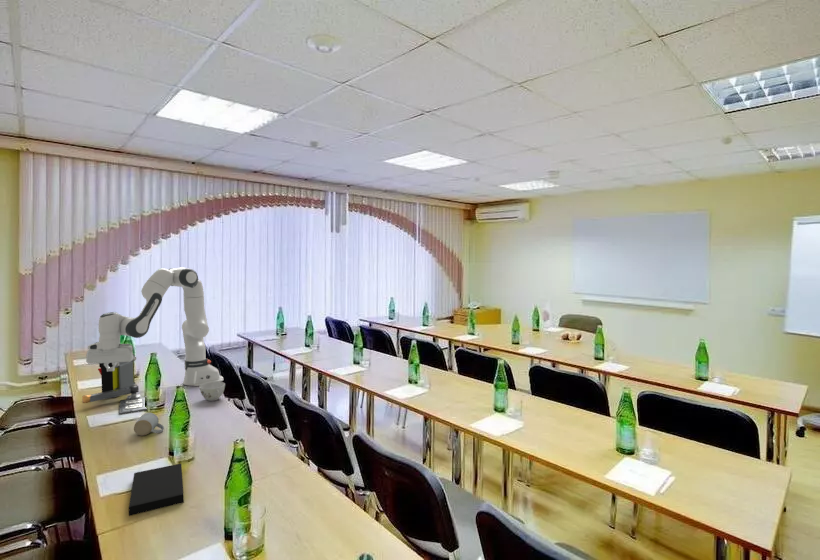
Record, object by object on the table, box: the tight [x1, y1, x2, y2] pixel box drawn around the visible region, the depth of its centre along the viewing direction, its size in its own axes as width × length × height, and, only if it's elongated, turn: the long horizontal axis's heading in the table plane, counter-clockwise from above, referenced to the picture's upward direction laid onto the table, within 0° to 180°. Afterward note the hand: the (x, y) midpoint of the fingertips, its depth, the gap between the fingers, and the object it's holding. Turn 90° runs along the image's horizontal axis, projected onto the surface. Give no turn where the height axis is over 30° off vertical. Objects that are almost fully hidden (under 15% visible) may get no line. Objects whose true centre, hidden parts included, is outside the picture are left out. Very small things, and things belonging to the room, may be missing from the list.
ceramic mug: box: [133, 412, 165, 437], centre depth 185 cm, size 11×8×8 cm
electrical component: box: [97, 354, 138, 399], centre depth 239 cm, size 18×10×20 cm, turn 179°
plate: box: [118, 396, 148, 415], centre depth 218 cm, size 12×22×1 cm, turn 33°
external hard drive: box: [128, 463, 185, 517], centre depth 138 cm, size 14×23×3 cm, turn 30°
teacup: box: [199, 381, 226, 402], centre depth 228 cm, size 15×12×8 cm
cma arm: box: [81, 385, 139, 404], centre depth 223 cm, size 25×4×3 cm, turn 141°
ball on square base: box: [126, 393, 141, 399], centre depth 231 cm, size 6×6×3 cm
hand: (110, 371), depth 217 cm, fingers closed
